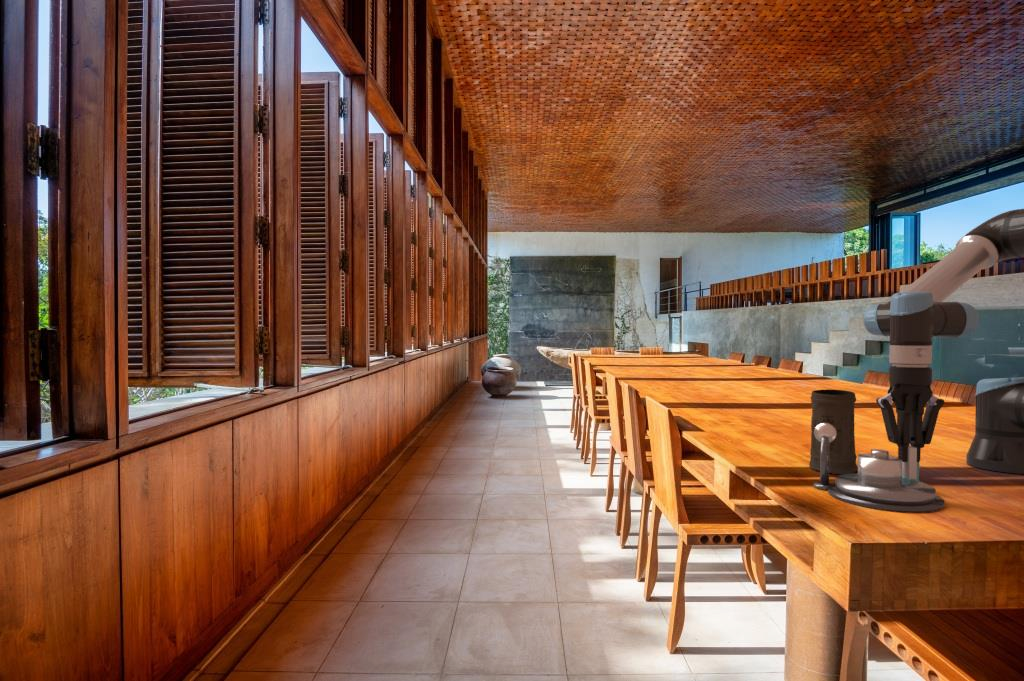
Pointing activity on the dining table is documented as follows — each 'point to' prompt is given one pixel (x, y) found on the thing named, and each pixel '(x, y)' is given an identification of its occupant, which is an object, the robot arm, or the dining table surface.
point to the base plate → (924, 508)
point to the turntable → (888, 491)
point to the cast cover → (880, 470)
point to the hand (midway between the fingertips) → (908, 477)
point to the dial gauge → (824, 453)
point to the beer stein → (840, 414)
